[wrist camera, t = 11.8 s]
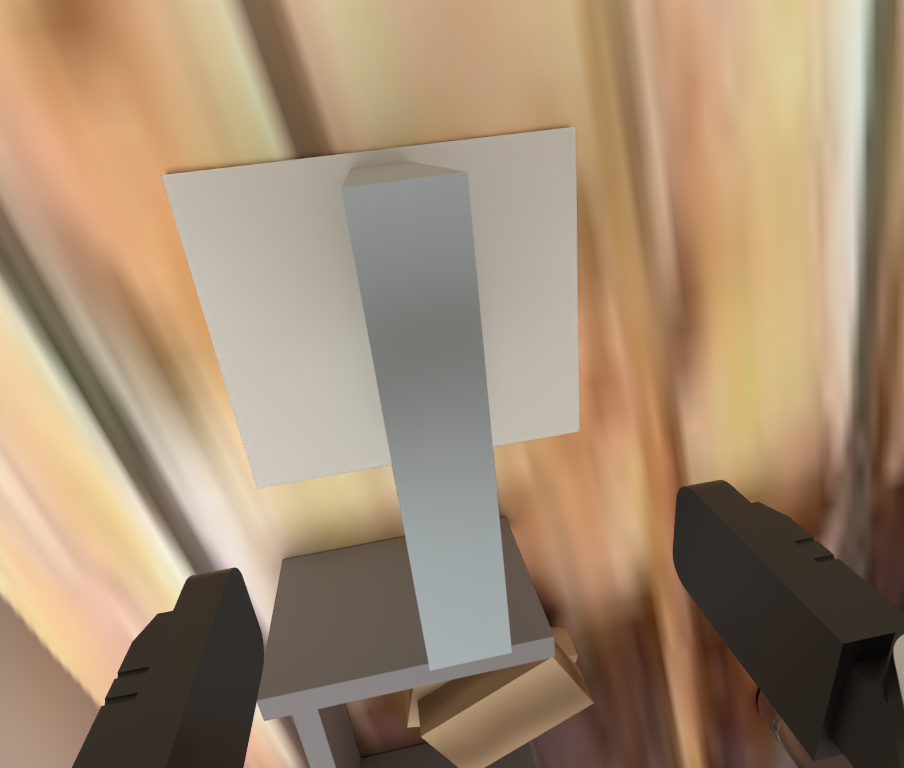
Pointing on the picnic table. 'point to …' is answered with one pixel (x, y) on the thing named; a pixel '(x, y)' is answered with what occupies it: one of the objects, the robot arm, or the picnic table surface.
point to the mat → (340, 305)
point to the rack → (374, 647)
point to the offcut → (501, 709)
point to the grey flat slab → (433, 397)
